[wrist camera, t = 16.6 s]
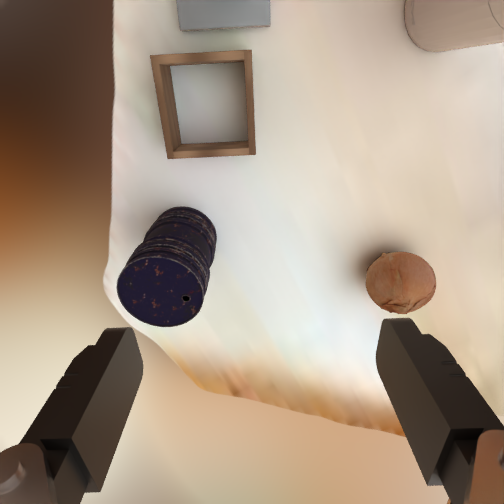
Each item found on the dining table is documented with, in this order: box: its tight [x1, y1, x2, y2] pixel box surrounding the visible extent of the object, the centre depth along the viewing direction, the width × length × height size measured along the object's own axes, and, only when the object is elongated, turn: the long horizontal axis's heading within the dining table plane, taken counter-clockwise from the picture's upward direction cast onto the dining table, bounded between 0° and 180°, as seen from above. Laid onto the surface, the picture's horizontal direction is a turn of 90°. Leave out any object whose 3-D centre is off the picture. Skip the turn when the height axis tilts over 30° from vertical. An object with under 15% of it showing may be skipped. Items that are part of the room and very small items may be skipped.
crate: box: [150, 50, 256, 159], centre depth 38 cm, size 11×11×5 cm
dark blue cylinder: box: [117, 207, 217, 327], centre depth 42 cm, size 10×10×15 cm
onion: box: [366, 252, 436, 314], centre depth 47 cm, size 10×9×10 cm
